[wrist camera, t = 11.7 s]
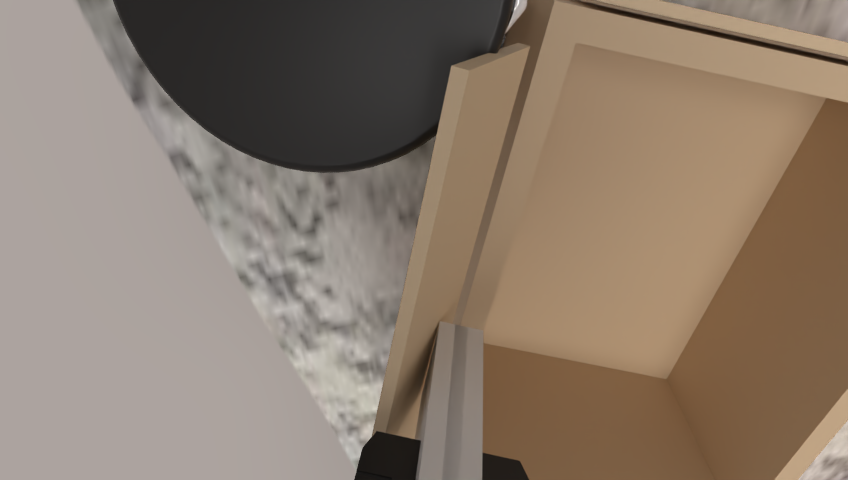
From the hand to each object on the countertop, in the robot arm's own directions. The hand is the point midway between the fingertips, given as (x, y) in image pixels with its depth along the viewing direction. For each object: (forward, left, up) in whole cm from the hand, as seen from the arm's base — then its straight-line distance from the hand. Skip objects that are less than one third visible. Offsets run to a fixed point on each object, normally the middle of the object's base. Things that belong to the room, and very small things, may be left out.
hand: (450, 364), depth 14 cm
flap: (0, -1, 0) cm, 1 cm away
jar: (-9, -4, -12) cm, 15 cm away
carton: (0, +7, -12) cm, 14 cm away
